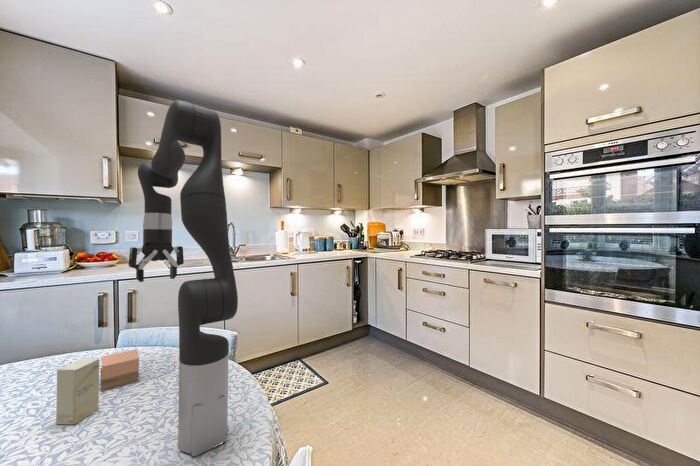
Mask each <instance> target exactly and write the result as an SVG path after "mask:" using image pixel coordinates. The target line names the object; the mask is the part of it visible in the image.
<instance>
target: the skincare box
mask: <svg viewBox="0 0 700 466" xmlns="http://www.w3.org/2000/svg"><path fill="white" fill-rule="evenodd" d="M99 392H100V358H86V357H85V358H84V357H82V358H81V359H78V360H76V361H74V362H71V363H69V364H67V365H65V366H62V367H60V368H58V369H57V370H56V413H55V414H56V416H55V417H56V418H55V419H56V420H55V422H56V423H55V424H56V425H77V424H78V423H79V422H81V421H82V420H84V419H85V418H86V417H89V416H90V415H91V414H93V413H95V412H96V411H97V410H98V409H99V408H100V407H99V403H100V401H99V400H100V398H99V397H100V393H99Z"/></svg>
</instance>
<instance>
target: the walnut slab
mask: <svg viewBox="0 0 700 466" xmlns="http://www.w3.org/2000/svg"><path fill="white" fill-rule="evenodd" d="M138 382H139V371H135V372H131V373H127V374H123V375H119V376H115V377H111V378H107V379H103V380H102V368H100V392H105V391H110V390H113V389H117V388H120V387H124V386H127V385H132V384H135V383H138Z"/></svg>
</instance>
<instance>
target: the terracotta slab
mask: <svg viewBox="0 0 700 466" xmlns="http://www.w3.org/2000/svg"><path fill="white" fill-rule="evenodd" d="M101 369H102V380H103V379H107V378H111V377H115V376H119V375H123V374H127V373H131V372H135V371H138V372H139V371H140V357H139V354H138V350H137V349H132V350H126V351H122V352H116V353H111V354H106V355H103V356H101Z"/></svg>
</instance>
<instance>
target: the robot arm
mask: <svg viewBox="0 0 700 466" xmlns="http://www.w3.org/2000/svg"><path fill="white" fill-rule="evenodd" d="M221 125H222V124H221V120H220V117H219V114H218V113H217V112H216V111H214V110H212V109H210V108H207V107H203V106H201V105H198V104H194V103H191V102H188V101H184V100H179V99H177V100H174V101H172V103H171V104H170V105H169V107H168V109H167V111H166V114H165V118H164V123H163V126H162V130H161V135H160V141H159V144H158V148H157V150H156V152H155V154H154V155H153V156H152V159H151V162H143V163H141V164H140V165H139V166H138V168H137V177H138V181H139V183H140V186H141V189H142V193H143V198H144V215H143V221H142V222H143V223H142V228H143V229H142V246H141V247H133V246H132V247H130V248H129V256H128V267H129V268H132V269H135V271H136V272H135V277H136V278H135V279H136V280H137V281H138V282H140V283H144V279H145V275H144V274H145V269H144V268H145V266H146V265H148V264H149V263H150V262H156V261H161V262H162V261H163V262H164V261H165V262H167V263H168V264H169V265H170V267H169V279H172V280H175V279H176V277H177V276H178V266H181V265H183V264H185V263H184V262H185V261H184V247H183V246H181V245H180V246H179V245H177V246H173V245H172V244H173V217H172V205H173V204H172V201H173V200H172V199H171V198H172V197H170V196H168V195H166V194H163V193H159V192H157V191H156V190H155V188H154V187H156V188H164V189H165V188H166V189H171V188H175V187H176V186H177V185H178V183H179V171H180V170H181V169H182V167H183V166H184V165H185V161H186V153H185V151H184V148H183V147H182V145H181V144H180V142H181V143H185V144H189V145H193V146H194V145H195V146H199V147H201V148H202V151H203V153H202V154H203V155H202V160H201V162H200V163H199V165H198V166H197V168H196V169H195V171H194V172H193V173H192V174H191V175H190V176H189V177H188V179H187V180H186V181H185V183H184V185H183V186H182V188H181V191H180V193H179V194H180V195H179V196H180V197H179V198H180V199H179V200H180V201H179V202H180V214H181V215H180V217H181V222H182V224H183V226H184V228H185V230H186V231H187V232H188V234H189V235H190V236H191V237H192V239H193V240H194V241H195V242H196V244H197V245H198V246H199V247H200V248H201V249H202V251H203V252H204V254H205V255H206V256H207V259H208V260H209V262H210V265H211V268H212V271H213V276H214V278H213V277H212V278H202V279H201V278H200V279H191V280H186V281H184V282H182V283H181V284H180V287H179V290H178V297H177V311H178V314H177V315H178V332H179V334H178V336H179V337H178V338H179V339H178V340H179V342H178V348H179V355H178V356H179V358H178V359H179V360H178V364H179V365H178V371H179V372H178V405H177V406H178V408H177V409H178V410H177V411H178V412H177V413H178V416H177V417H178V418H177V420H178V421H177V423H178V425H177V426H178V427H177V429H178V431H177V434H178V435H177V446H178V450H179V451H180V452H182V451H183V452H182V453H184V452H186V453H185V454H188V453H190V454H189V455H190V456H191V457H192V456H195V457H197V456H199V455H201V453H202V452H204V453H206V452H208V451H210V450H212V449H211V448H213V447H214V446H216V445H218V444H220V443H222V442H225V441H227V440H226V439H227V435H228V418H229V417H228V413H229V412H228V410H229V409H228V408H229V405H228V403H229V359H230V358H229V350H230V343H229V340H228V339H227V338H226V337H225V336H223V335H220V334H213V333H206V332H203V331H201V328H200V327H201V326H202V325H208V324H213V323H218V322H222V321H223V322H224V321H228V320H232V319H233V318H234V317H235V316H236V313H237V312H238V306H239V305H238V304H239V303H238V302H239V301H238V300H239V298H238V295H239V294H238V289H237V282H236V277H235V276H236V275H235V272H234V265H233V261H232V256H231V255H232V254H231V249H230V241H229V240H230V239H229V229H228V228H229V227H228V213H227V212H228V211H227V202H226V195H225V194H226V193H225V187H224V186H225V185H224V179H223V166H222V163H223V162H222V126H221ZM173 252H174V253H175V256H176V260H175V258H173V256H172V253H173ZM140 253H142V254H143V257H142V258H141V259H140V261H139V262H138V263H137V258H138V257H137V256H138V255H140ZM226 434H227V435H226ZM225 443H226V442H225ZM209 449H210V450H209ZM213 449H214V448H213ZM207 450H208V451H207ZM205 451H206V452H205ZM202 454H203V453H202ZM196 455H197V456H196Z"/></svg>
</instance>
